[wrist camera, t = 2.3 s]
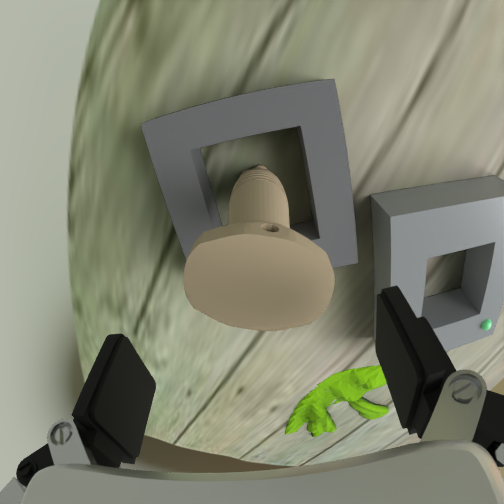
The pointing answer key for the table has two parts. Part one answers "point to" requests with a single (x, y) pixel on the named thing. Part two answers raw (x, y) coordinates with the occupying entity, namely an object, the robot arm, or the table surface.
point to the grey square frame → (251, 123)
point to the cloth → (338, 399)
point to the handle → (258, 263)
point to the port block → (439, 243)
